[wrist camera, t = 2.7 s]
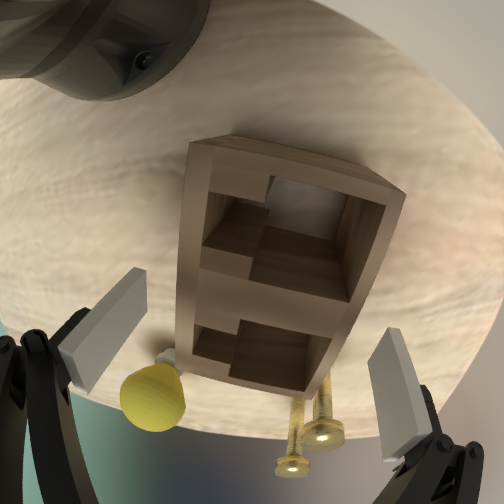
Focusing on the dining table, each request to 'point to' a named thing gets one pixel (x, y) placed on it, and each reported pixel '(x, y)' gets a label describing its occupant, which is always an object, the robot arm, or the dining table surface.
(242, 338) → the keyhole block
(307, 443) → the post
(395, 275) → the dining table surface
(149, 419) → the light bulb
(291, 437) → the post
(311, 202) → the dining table surface
